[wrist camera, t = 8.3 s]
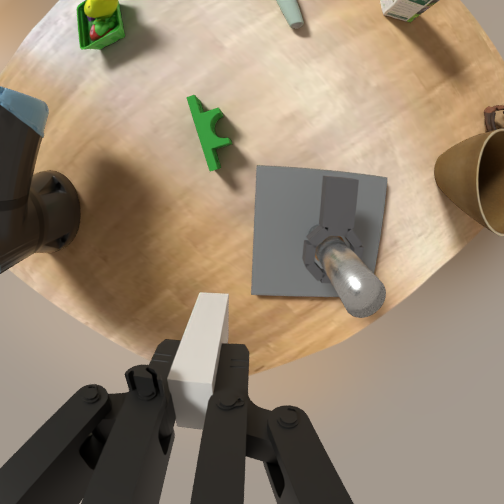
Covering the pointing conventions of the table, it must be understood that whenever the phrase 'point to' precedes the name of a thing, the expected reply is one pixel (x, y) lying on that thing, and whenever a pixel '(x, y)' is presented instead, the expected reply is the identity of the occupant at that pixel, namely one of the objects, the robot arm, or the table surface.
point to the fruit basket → (99, 23)
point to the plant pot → (476, 178)
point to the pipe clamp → (208, 131)
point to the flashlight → (291, 12)
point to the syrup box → (405, 8)
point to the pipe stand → (304, 227)
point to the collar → (333, 221)
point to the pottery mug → (491, 116)
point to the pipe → (350, 277)
